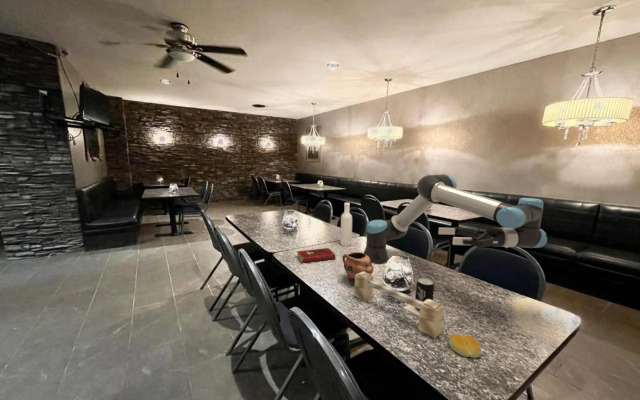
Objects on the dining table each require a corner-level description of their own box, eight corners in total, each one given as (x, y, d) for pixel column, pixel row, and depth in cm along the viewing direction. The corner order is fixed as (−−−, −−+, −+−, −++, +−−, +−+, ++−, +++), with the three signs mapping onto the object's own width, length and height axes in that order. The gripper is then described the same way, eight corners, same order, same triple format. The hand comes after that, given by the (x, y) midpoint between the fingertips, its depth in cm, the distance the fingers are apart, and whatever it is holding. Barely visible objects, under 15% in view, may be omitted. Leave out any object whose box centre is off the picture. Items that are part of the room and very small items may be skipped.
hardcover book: (335, 260, 155) (335, 253, 154) (301, 264, 148) (301, 257, 147) (328, 253, 166) (328, 247, 165) (296, 257, 159) (296, 250, 158)
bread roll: (446, 338, 88) (447, 327, 87) (475, 343, 86) (476, 332, 85) (452, 356, 80) (453, 344, 79) (484, 361, 78) (486, 349, 77)
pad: (403, 308, 105) (403, 307, 105) (417, 299, 112) (417, 298, 112) (430, 321, 97) (430, 320, 97) (442, 310, 104) (442, 309, 104)
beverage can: (433, 314, 100) (436, 285, 99) (416, 312, 102) (418, 283, 100) (430, 305, 107) (432, 278, 105) (413, 303, 108) (415, 276, 106)
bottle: (340, 242, 187) (341, 201, 182) (351, 242, 186) (352, 202, 182) (340, 246, 179) (341, 203, 174) (351, 246, 179) (353, 204, 174)
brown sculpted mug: (333, 277, 131) (333, 251, 129) (348, 271, 139) (349, 246, 137) (364, 292, 117) (365, 263, 115) (379, 284, 125) (381, 257, 123)
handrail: (354, 296, 114) (355, 273, 112) (361, 292, 117) (362, 270, 115) (434, 338, 87) (437, 309, 86) (441, 332, 91) (443, 304, 89)
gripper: (521, 258, 90) (459, 256, 92) (481, 236, 115) (433, 235, 116) (524, 237, 89) (461, 235, 90) (483, 220, 114) (434, 219, 115)
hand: (445, 235), depth 103 cm, fingers open, 13 cm apart
